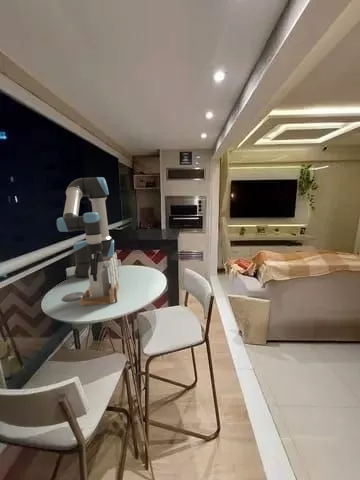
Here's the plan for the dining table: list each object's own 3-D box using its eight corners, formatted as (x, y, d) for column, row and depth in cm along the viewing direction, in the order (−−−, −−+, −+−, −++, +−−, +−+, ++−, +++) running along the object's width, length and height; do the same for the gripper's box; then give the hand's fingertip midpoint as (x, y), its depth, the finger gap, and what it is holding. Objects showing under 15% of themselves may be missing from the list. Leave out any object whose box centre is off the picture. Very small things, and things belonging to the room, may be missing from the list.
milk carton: (104, 299, 133) (99, 263, 129) (91, 299, 134) (87, 264, 131) (110, 294, 139) (106, 260, 136) (98, 293, 141) (94, 260, 137)
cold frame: (91, 290, 146) (86, 254, 142) (122, 287, 147) (118, 252, 144) (81, 306, 126) (75, 264, 122) (116, 302, 127) (112, 261, 124)
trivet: (67, 294, 143) (66, 293, 143) (87, 292, 144) (87, 291, 144) (59, 302, 133) (59, 301, 132) (81, 300, 133) (81, 299, 133)
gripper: (92, 239, 143) (97, 275, 147) (79, 248, 119) (85, 291, 123) (106, 238, 144) (110, 274, 148) (96, 246, 119) (101, 290, 123)
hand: (99, 282), depth 135 cm, fingers open, 13 cm apart
